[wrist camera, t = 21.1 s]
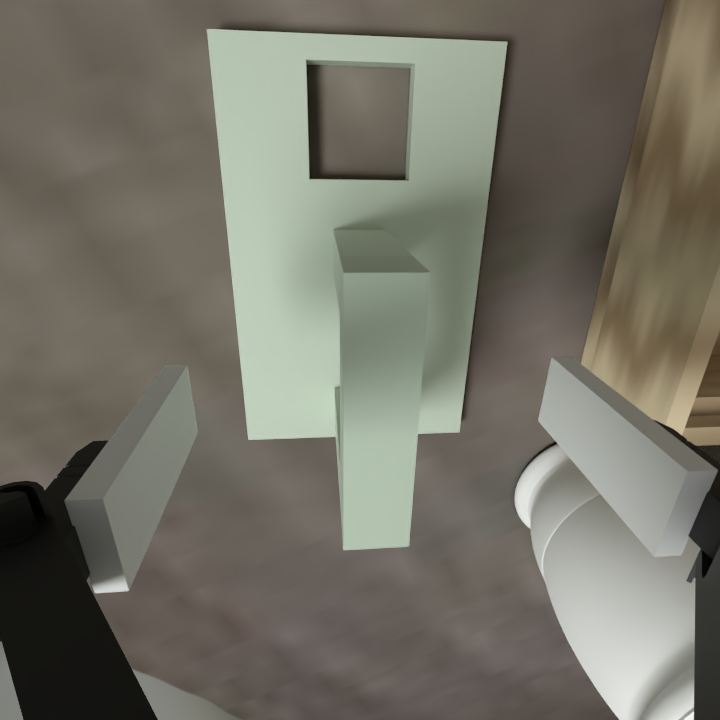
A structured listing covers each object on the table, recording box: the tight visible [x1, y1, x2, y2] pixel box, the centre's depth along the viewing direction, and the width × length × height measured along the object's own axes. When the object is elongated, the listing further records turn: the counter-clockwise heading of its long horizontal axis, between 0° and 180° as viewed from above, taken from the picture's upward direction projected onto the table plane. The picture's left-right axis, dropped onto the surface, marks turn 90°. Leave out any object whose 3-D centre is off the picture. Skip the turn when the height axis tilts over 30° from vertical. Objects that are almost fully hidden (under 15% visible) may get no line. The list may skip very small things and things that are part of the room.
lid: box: [207, 29, 507, 550], centre depth 18 cm, size 19×12×10 cm, turn 179°
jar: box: [515, 444, 701, 720], centre depth 23 cm, size 11×10×15 cm
